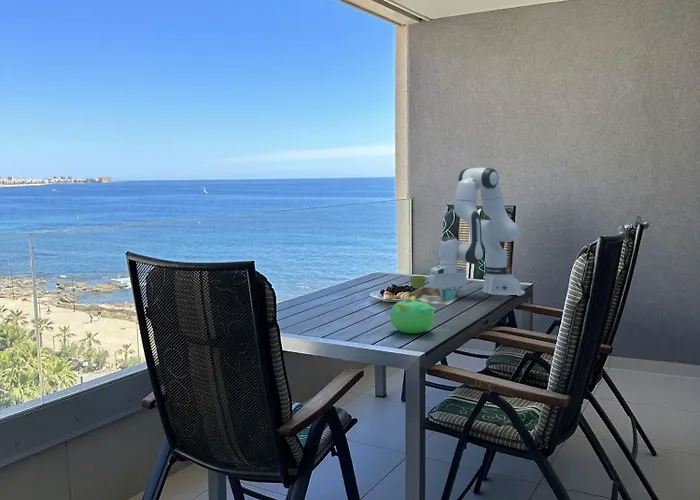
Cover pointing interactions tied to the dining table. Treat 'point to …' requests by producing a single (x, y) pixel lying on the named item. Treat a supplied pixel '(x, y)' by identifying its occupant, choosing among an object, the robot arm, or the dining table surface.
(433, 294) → the arena
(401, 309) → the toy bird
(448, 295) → the cube
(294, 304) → the dining table surface
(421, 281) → the plant pot
